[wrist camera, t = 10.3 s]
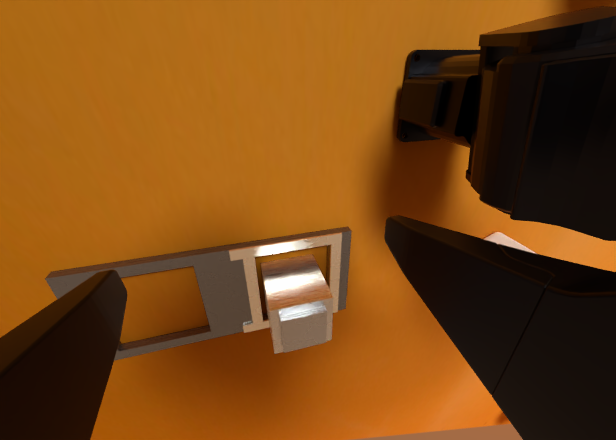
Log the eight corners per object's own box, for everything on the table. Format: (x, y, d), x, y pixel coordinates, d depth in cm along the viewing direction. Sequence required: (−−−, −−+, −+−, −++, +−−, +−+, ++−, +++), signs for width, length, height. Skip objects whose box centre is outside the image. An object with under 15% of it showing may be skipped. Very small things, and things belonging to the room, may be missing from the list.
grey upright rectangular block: (312, 253, 26) (336, 303, 21) (312, 292, 29) (333, 345, 23) (260, 262, 25) (270, 317, 20) (265, 302, 28) (275, 360, 22)
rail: (348, 226, 26) (352, 231, 25) (342, 303, 31) (346, 309, 30) (50, 271, 20) (43, 280, 20) (101, 356, 25) (96, 366, 24)
